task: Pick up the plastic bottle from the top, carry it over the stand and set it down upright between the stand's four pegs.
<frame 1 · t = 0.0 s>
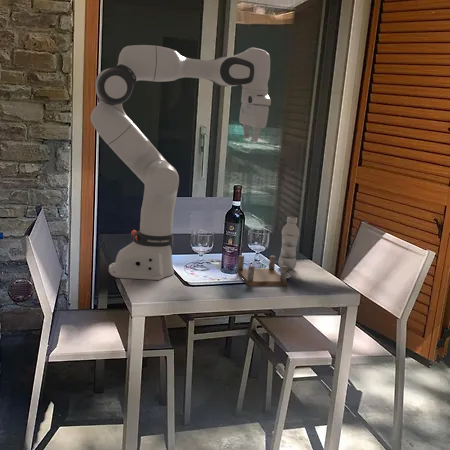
hand: (250, 139, 198), 48 cm above the table, tool pointing down, fingers open, 8 cm apart
peg stand: (260, 278, 203), on the table
plastic bottle: (286, 269, 217), on the table
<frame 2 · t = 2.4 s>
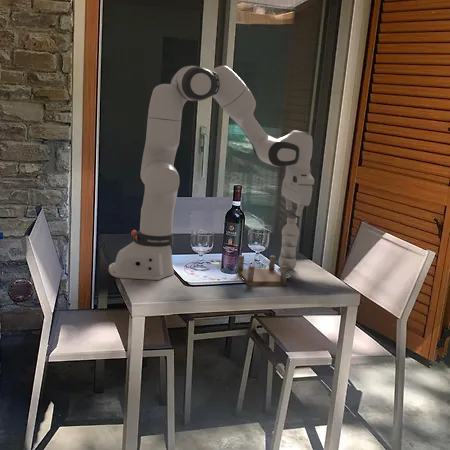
hand: (293, 212, 212), 22 cm above the table, tool pointing down, fingers open, 8 cm apart
nothing on the table moved.
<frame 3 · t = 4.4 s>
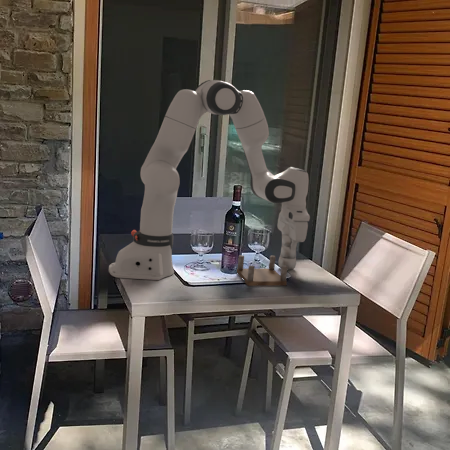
hand: (288, 247, 215), 9 cm above the table, tool pointing down, fingers closed on plastic bottle, 6 cm apart
plastic bottle: (286, 269, 217), on the table, touching gripper
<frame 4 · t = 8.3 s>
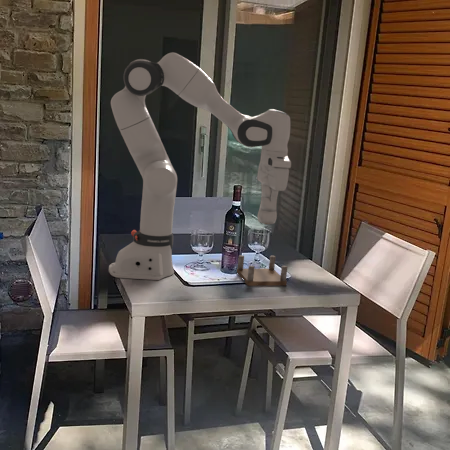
hand: (269, 199, 197), 29 cm above the table, tool pointing down, fingers closed on plastic bottle, 6 cm apart
plastic bottle: (266, 224, 199), point 20 cm above the table, touching gripper
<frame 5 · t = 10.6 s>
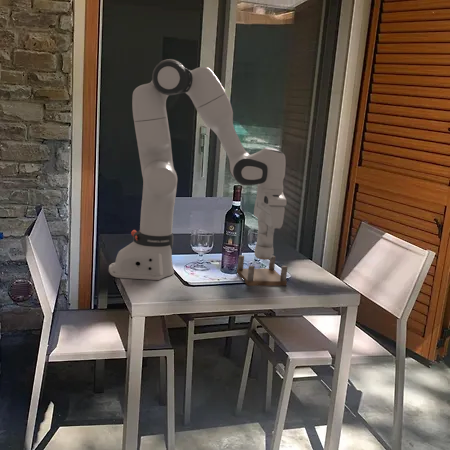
hand: (265, 234, 200), 16 cm above the table, tool pointing down, fingers closed on plastic bottle, 6 cm apart
plastic bottle: (263, 259, 202), point 7 cm above the table, touching gripper
when the fingers open (12 cm above the table, at t = 12.5 s): plastic bottle drops 2 cm, resting on peg stand.
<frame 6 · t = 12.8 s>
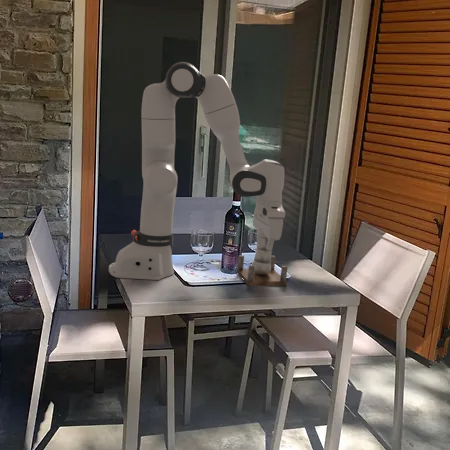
hand: (264, 245, 201), 12 cm above the table, tool pointing down, fingers open, 8 cm apart
plastic bottle: (260, 274, 203), point 1 cm above the table, touching peg stand
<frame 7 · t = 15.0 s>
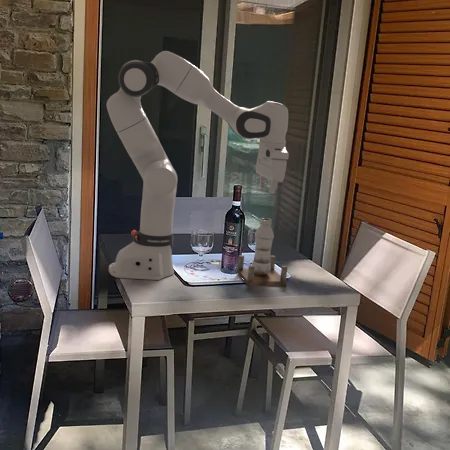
hand: (267, 190, 197), 31 cm above the table, tool pointing down, fingers open, 8 cm apart
nothing on the table moved.
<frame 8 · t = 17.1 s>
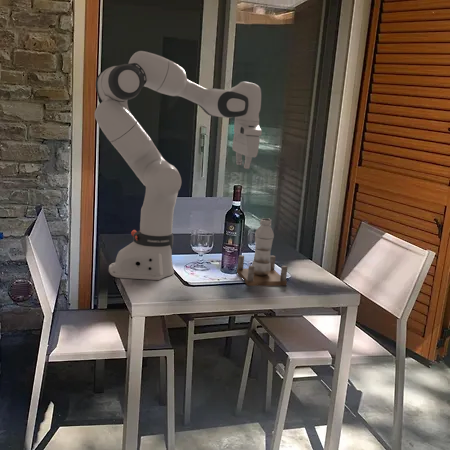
hand: (242, 166, 210), 37 cm above the table, tool pointing down, fingers open, 8 cm apart
nothing on the table moved.
at the end: plastic bottle 0.2 cm off-centre on the peg stand, point 1.3 cm above the peg stand's base; plastic bottle tilted 0°; the gripper is holding nothing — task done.
